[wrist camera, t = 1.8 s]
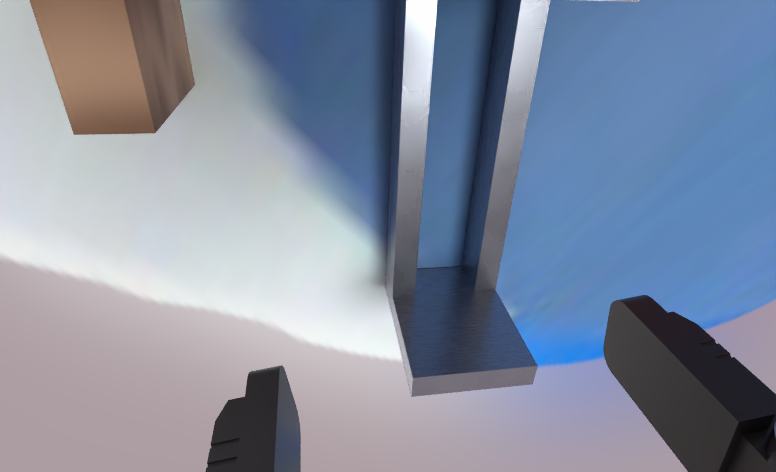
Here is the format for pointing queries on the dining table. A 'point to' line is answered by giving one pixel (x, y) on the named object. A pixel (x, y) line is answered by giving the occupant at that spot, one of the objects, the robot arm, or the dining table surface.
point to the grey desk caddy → (486, 218)
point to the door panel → (116, 61)
